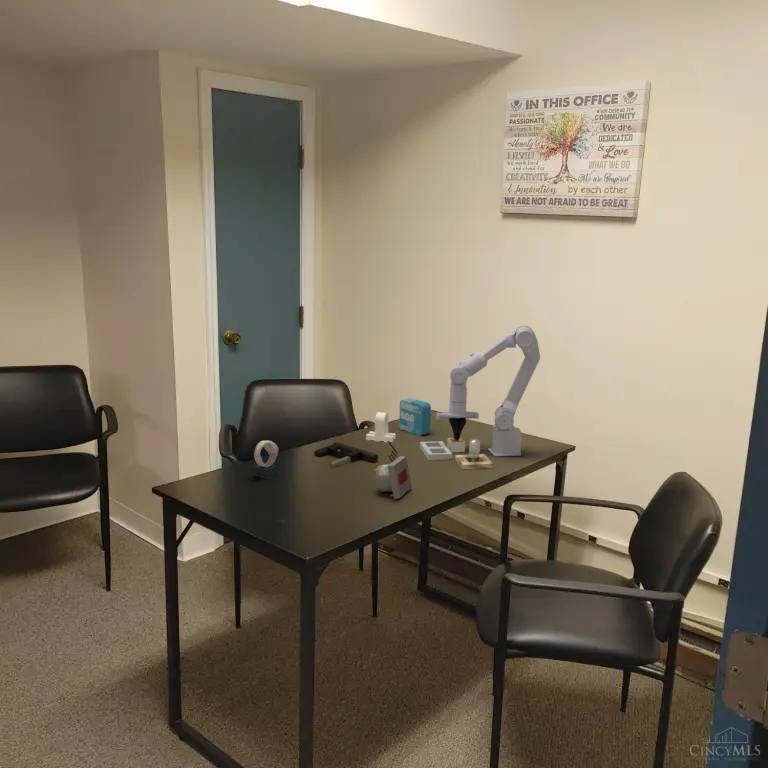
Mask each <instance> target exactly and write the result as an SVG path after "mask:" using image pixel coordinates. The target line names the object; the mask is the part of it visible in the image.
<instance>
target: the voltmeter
mask: <svg viewBox="0 0 768 768" xmlns="http://www.w3.org/2000/svg"><path fill="white" fill-rule="evenodd" d="M387 443H388V445H389V446H390V447H391V448H392V449H391V453H390V455H389V454H388V456H387V457H388V458H389V460H390V461H391V463H389V464H380V465H379V466H377V468H375V469H373V473H374V477H375V482H376V483H375V484H376V486H377V488H378V490H379V491H380V492H382V493H385V492H388V493H389V492H392V494H390V497H393V500H397V499H400V498H402V497H403V496H404V495H405V494H406V493H408V491H410V490H411V488H412V487H413V486H412V482H411V477H410V476H411V475H410V471H409V467H408V460H407V456H403V455H400V456H397V455H398V451H397V450H396V449H395V447H394V446H393V444H392V443H390V441H388V442H387ZM395 453H396V454H395Z"/></svg>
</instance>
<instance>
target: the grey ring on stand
mask: <svg viewBox="0 0 768 768" xmlns="http://www.w3.org/2000/svg"><path fill="white" fill-rule="evenodd" d="M263 448H264V450H265V451H266V452H267V453H268V455H269V457H268V459H267V461H266V462H264V461H263V459H262V456H261V451H262V449H263ZM278 453H279V447H278V445H277V444H276V443H275V442H273V441H272V440H269V439H268V440H260V441H259V442H258V443H257V444H256V446H255V448H254V454H253V455H254V456H253V457H254V459H255V462H256V464H257V465H256V464H255V465H254V466H253V475H254V474H256V475H258V476H262V477H265V478H270V477H273V476H275V475H277V476H278V466H277V465H275V464H274V463H275V461H276V459H277V456H278ZM275 477H276V476H275ZM273 478H274V477H273ZM270 479H271V478H270Z"/></svg>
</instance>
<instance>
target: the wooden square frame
mask: <svg viewBox="0 0 768 768" xmlns="http://www.w3.org/2000/svg"><path fill="white" fill-rule="evenodd" d="M454 460H455V461H456V462H458V463H457V464H458V465H459V466H460V467H461V469H462V470H482V469H494V463H493V462H492V460H490V459H489V458H488V456H486V454H485V453H480V457H479V462H468V461H469V454H455V455H454Z"/></svg>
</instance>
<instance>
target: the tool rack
mask: <svg viewBox="0 0 768 768" xmlns="http://www.w3.org/2000/svg"><path fill="white" fill-rule="evenodd" d="M419 448H421V449H420V450H421V451H422V453H423V452H424V453H423V454H424V455H426V456H425V457H426V458H428V459H427V460H428V461H442V460H443V461H448V460H449V459H450V460H451V459H452V460H453V452H451V451H450V450H449V449H448V448H447V445H446V444H445V443H444V441H442V440H440V441H420V442H419Z"/></svg>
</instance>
